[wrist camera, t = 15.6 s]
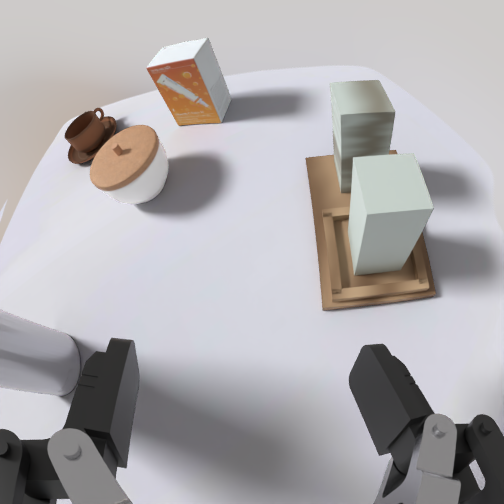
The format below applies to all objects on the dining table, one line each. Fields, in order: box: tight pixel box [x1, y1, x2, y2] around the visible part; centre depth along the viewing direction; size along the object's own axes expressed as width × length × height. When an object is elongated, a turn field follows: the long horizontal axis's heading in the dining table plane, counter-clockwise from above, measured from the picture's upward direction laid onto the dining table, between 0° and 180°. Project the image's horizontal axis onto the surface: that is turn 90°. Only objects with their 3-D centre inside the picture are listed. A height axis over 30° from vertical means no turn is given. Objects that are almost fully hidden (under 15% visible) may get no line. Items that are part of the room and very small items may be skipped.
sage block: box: [348, 153, 434, 276], centre depth 25 cm, size 5×5×12 cm
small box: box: [147, 38, 231, 126], centre depth 41 cm, size 8×6×13 cm
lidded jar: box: [90, 125, 169, 205], centre depth 39 cm, size 11×11×9 cm
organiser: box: [306, 80, 436, 310], centre depth 27 cm, size 12×19×13 cm, turn 0°
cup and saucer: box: [65, 108, 116, 164], centre depth 50 cm, size 12×12×6 cm
